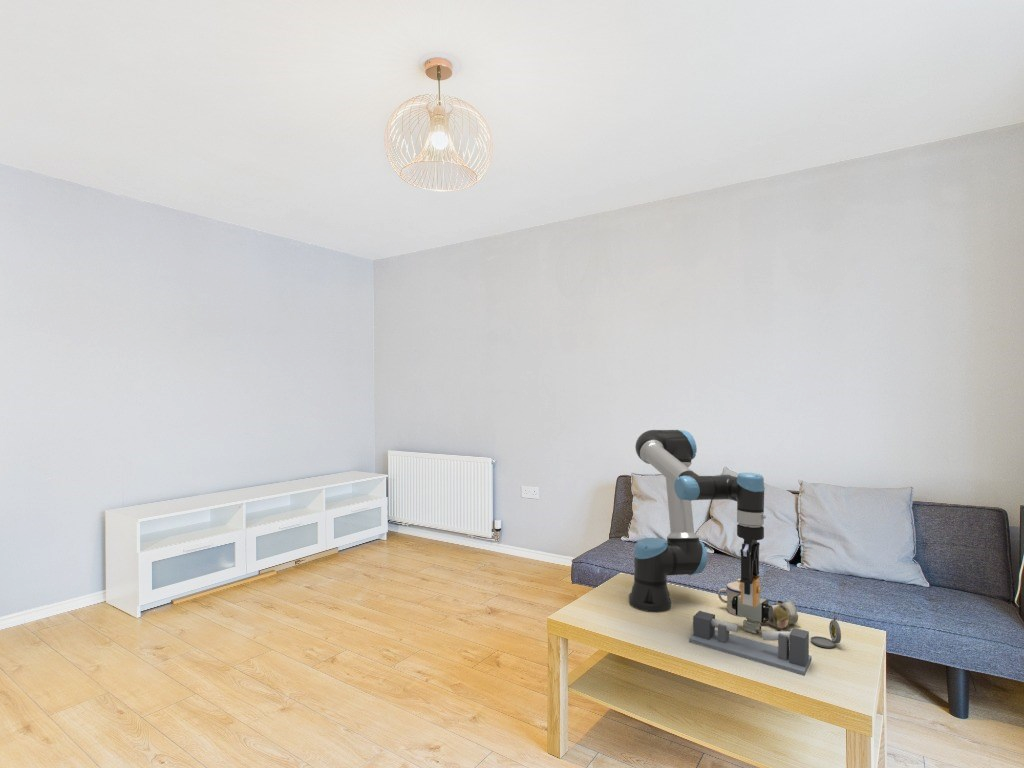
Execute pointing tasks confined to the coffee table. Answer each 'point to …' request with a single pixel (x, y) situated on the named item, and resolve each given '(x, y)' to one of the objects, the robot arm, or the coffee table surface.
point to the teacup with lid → (730, 594)
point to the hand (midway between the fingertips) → (750, 602)
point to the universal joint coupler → (755, 590)
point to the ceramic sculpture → (783, 615)
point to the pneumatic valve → (752, 613)
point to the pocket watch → (834, 634)
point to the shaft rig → (754, 643)
